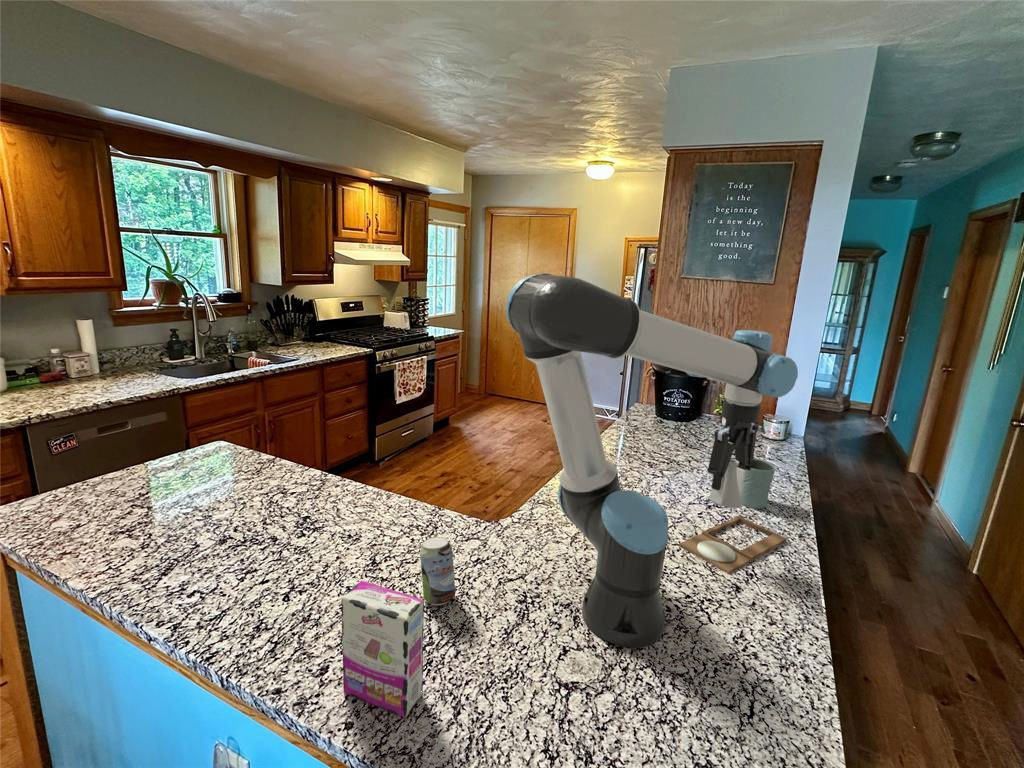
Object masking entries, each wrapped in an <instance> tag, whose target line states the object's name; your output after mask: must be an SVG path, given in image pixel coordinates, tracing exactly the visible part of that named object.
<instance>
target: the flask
mask: <svg viewBox="0 0 1024 768" xmlns="http://www.w3.org/2000/svg"><path fill="white" fill-rule="evenodd" d="M738 465H739V461H737V460H735V459H734V458H731V459H730V462H729V465H728V468H727V470H726V473H725V476H726V477H727V478H726V484H725V490H724V496H723V502H722V504H721V505H719V504H717V503H715V502H713V501H711V502H712V503H713V504H714V505H717V506H719V507H720V506H721V507H724V508H728V509H729V508H731V509H732V508H734V509H736V508H737V509H738V508H741V506H742V505H741V504H742V502H741V497H740V492H739V488H738V482H737V466H738ZM709 499H710V495H709V496H708V500H709Z"/></svg>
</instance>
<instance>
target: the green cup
mask: <svg viewBox="0 0 1024 768" xmlns="http://www.w3.org/2000/svg"><path fill="white" fill-rule="evenodd" d="M748 459H749V458H748ZM748 466H750V467H751V470H750V471H749V470H746V469H745V470H746V471H745V477H744V482H743V488H742V493H741V502H742V504H741V506H743V507H747V508H750V509H757V510H758V509H764V508H766V506H767V503H768V500H769V494H770V493H769V492H770V491H771V485H772V483H773V479H774V475H775V472H776V466H775V465H774V464H773V463H771V462H770V461H767V460H763V459H760V458H756V457H753V463H752V465H748Z"/></svg>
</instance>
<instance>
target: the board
mask: <svg viewBox="0 0 1024 768" xmlns="http://www.w3.org/2000/svg"><path fill="white" fill-rule="evenodd" d="M738 523H742V524H743V525H746V526H747V527H750V528H751V529H753V530H756V531H758V532H761V533H762V534H764V535H766V537H764V538H763V539H761V540H758V541H757V542H754V543H753V544H750V545H749V546H747V547H745V548H743V549H741V550H740V549H739V548H737V547H735V546H734V545H731V544H730V543H728V542H725V541H724V540H722V539H719V538H718V537H716V536H714V535H713V534H716V533H718V532H720V531H722V530H724V529H727V528H729V527H731V526H734V525H736V524H738ZM787 541H788V537H785V536H783V535H781V534H779V533H778V532H776V531H775V532H774V531H772V530H770V529H768V528H766V527H763V526H761V525H760V524H757V523H755V522H753V521H751V520H748V519H746V518H744V517H741V516H740V515H737V516H736V517H733V518H731V519H729V520H726V521H724V522H722V523H720V524H716V525H715V526H712V527H710V528H708V529H706V530H704V531H701V533H700V534H697V535H695V536H692V537H691V538H688V539H686V540H684V541H682V542H679V543H678V547H680V548H682V549H684V550H686V551H688V552H689V553H691V554H692V555H694V556H696V557H698V558H699V559H702V560H704V561H705V562H707V563H709V564H710V565H712V566H713V567H716V568H717V569H719V570H721V571H723V572H725V573H726V574H730V573H732V572H734V571H736V570H738V569H739V568H741V567H743V566H745V565H747V564H749V563H750V562H752V561H754V560H756V559H758V558H760V557H761V556H763V555H765V554H767V553H768V552H771V551H773V550H774V549H776V548H777V547H778V548H779V547H780V546H783V544H785V543H787Z"/></svg>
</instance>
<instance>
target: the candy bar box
mask: <svg viewBox="0 0 1024 768" xmlns="http://www.w3.org/2000/svg"><path fill="white" fill-rule="evenodd" d="M340 601H341V632H342V633H341V637H342V638H341V640H342V641H341V642H342V643H341V644H342V674H343V675H342V677H343V678H342V681H343V684H342V685H343V687H342V688H343V693H345V694H346V695H349V696H350V697H353V698H356V699H358V700H361V701H363V702H365V703H368V704H371V705H374V706H376V707H379V708H380V709H383V710H385V711H388V712H390V713H392V714H395V715H396V716H397V715H398V716H399V717H402V718H405V719H406V718H407V717H408V715H409V714H410V713H411V712H412V710H413V708H414V707H415V705H416V704H417V703H418V702H419V700H420V698H421V697H422V696H423V689H424V688H423V684H424V683H423V682H424V681H423V680H424V679H423V678H424V677H423V676H424V675H423V674H424V630H425V629H424V626H425V625H424V624H425V623H424V622H425V614H424V613H425V600H424V598H423V599H422V598H420V597H416V596H413V595H410V594H406V593H403V592H400V591H396V590H393V589H390V588H387V587H384V586H381V585H378V584H374V583H371V582H368V581H366V580H361V581H359V582H358V583H357V584H355V586H353V587H352V588H351V589H350V590H349V591H348V592H346V593H345V594H344V595H343V596H342V597H341V598H340ZM421 691H422V692H421Z"/></svg>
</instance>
